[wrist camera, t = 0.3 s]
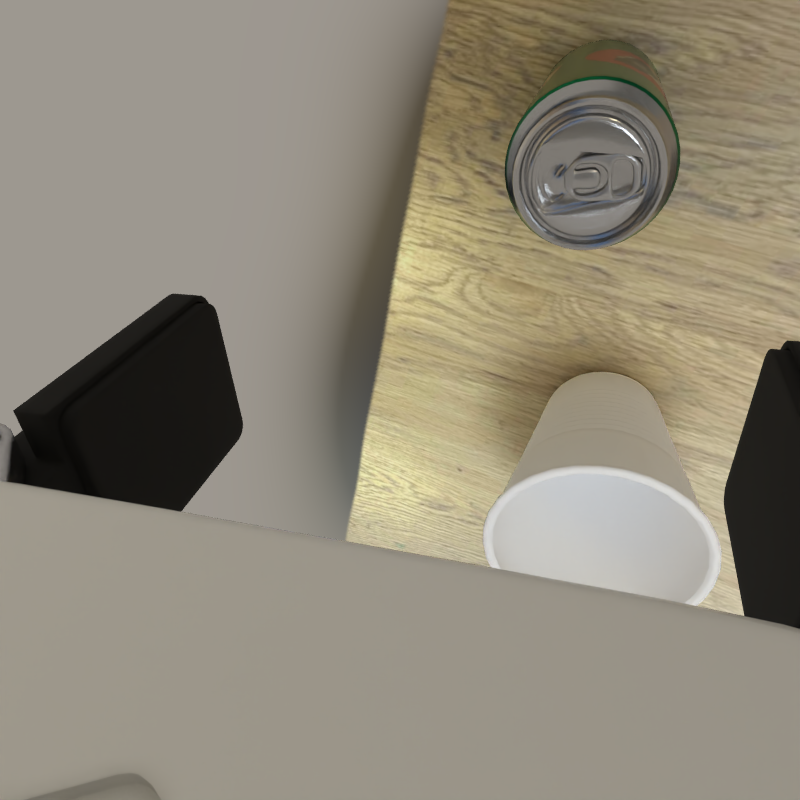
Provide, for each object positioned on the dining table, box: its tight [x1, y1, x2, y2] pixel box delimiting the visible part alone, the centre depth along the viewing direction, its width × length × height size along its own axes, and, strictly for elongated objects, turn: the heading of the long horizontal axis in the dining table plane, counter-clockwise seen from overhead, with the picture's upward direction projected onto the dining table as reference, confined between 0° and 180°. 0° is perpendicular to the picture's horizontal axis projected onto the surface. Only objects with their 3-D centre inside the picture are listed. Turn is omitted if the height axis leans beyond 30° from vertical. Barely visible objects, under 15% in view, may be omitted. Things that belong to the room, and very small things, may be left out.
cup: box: [483, 372, 722, 606], centre depth 32 cm, size 10×10×11 cm
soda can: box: [505, 40, 680, 250], centre depth 23 cm, size 5×5×12 cm
